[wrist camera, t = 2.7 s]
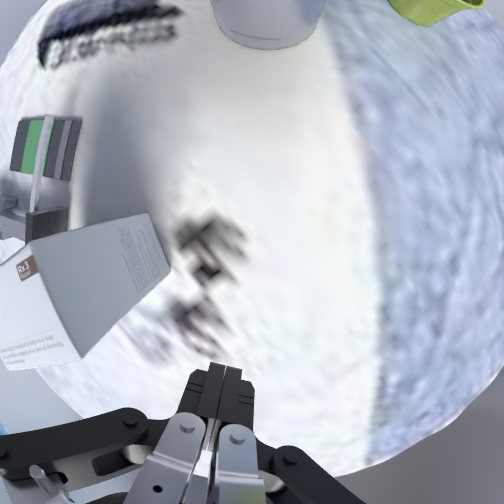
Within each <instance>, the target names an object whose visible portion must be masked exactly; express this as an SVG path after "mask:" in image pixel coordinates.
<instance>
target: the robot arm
mask: <svg viewBox="0 0 504 504" xmlns="http://www.w3.org/2000/svg"><path fill="white" fill-rule="evenodd" d="M325 1H326V0H211V4H212V7H213V10H214V13H215V16H216V19H217V23H218V25H219V27H220V29H221V30H222V31H223V33H224V34H225V35H226V36H227V37H229V38H230V39H232V40H233V41H235V42H237V43H239V44H242V45H244V46H247V47H251V48H256V49H265V50H270V49H282V48H287V47H291V46H293V45H296V44H299V43H300V42H302V41H304V40H306V39H307V38H308V37H309V36H310V35H311V34H312V33H313V31H314V29H315V28H316V26H317V23H318V20H319V17H320V14H321V11H322V8H323V6H324V3H325ZM225 367H226V366H225V365H221V364H217V363H214V362H211V363H210V366H209V370H208V372H207V371H203V370H200V369H196V370H195V371H194V372H193V373H191V374H190V377H189V380H188V383H187V385H186V388H185V390H184V393H183V396H182V399H181V401H180V404H179V407H178V410H177V412H176V413H175V415H173V416H172V417H171V418H168V419H165V420H153V419H147V417H146V416H145V414H144V413H142V412H141V411H139V410H137V409H134V408H121V409H118V410H114V411H111V412H108V413H104V414H101V415H97V416H94V417H90V418H86V419H83V420H79V421H75V422H71V423H67V424H62V425H58V426H53V427H49V428H44V429H39V430H33V431H28V432H22V433H16V434H9V435H1V436H0V476H1V477H2V479H3V482H4V484H5V487H6V489H7V492H8V494H9V497H10V499H11V501H12V503H13V504H67V502H68V500H69V492H70V491H74V490H78V489H81V488H84V487H88V486H91V485H94V484H97V483H100V482H103V481H106V480H109V479H112V478H114V477H117V476H120V475H123V474H125V473H128V472H130V471H133V470H135V469H138V468H140V467H141V470H140V471H139V473H138V475H137V477H136V479H135V481H134V483H133V485H132V487H131V489H130V491H129V492H121V493H115V494H111V495H108V496H105V497H102V498H100V499H97V500H94V501H91V502H89V503H86V504H183V502H184V499H185V496H186V492H187V490H188V487H189V484H190V481H191V478H192V475H193V472H194V469H195V467H196V464H197V462H198V460H199V458H200V455H201V451H202V449H203V450H206V448H207V445H208V441H209V438H210V441H209V446H208V450H207V451H212V458H211V461H210V464H209V473H208V486H207V498H206V504H366V503H364V502H363V501H362V500H360V499H359V498H358V497H356V496H355V495H354V494H353V493H351V492H350V491H349V490H348V489H346V488H345V487H344V486H343V485H341V484H340V483H339V482H338V481H337V480H335V479H334V478H333V477H332V476H331V475H330V474H328V473H327V472H326V471H325V470H324V469H323V468H321V467H320V466H319V465H318V464H317V463H316V462H315V461H314V460H312V459H311V458H310V457H309V456H308V455H307V454H306V453H305V452H304V451H303V450H301V449H300V448H297V447H295V446H289V445H287V446H282V447H279V448H278V449H275V448H273V447H270V446H268V445H266V444H264V443H262V442H260V441H259V440H258V439H257V438H256V436H255V435H254V432H253V416H254V394H255V389H254V387H253V385H252V383H251V382H249V381H245V380H241V375H242V369H238V368H234V367H230V366H227V367H226V371H225ZM224 372H225V374H224ZM223 377H224V378H223ZM210 434H211V436H210Z"/></svg>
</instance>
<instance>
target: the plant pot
mask: <svg viewBox="0 0 504 504" xmlns="http://www.w3.org/2000/svg"><path fill="white" fill-rule="evenodd" d="M389 2H390V4H391V5H392V6H393V8H394V9H395V10H396V11H397V12H398V13H399V14H400V15H402V16H403V17H404V18H407V19H410V20H412V21H413V22H415V23H416V24H417V25H420V26H431V25H433V24H435V23H437V22H439V21H441V20H442V19H444V18H446V17H448V16H450V15H452V14H455V13H457V12H459V11H461V10H468V9H471V8H473V9H480V8H483V7H484V5H485V0H389Z"/></svg>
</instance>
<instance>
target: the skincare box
mask: <svg viewBox="0 0 504 504" xmlns="http://www.w3.org/2000/svg"><path fill="white" fill-rule="evenodd" d="M170 272H171V270H170V268H169V265H168V263H167V260H166V258H165V255H164V253H163V250H162V248H161V245H160V242H159V240H158V237H157V235H156V232H155V229H154V226H153V224H152V221H151V218H150V215H149V213H148V212H147V213H143V214H138V215H134V216H129V217H124V218H120V219H115V220H111V221H106V222H102V223H98V224H94V225H90V226H86V227H82V228H78V229H74V230H70V231H66V232H62V233H58V234H54V235H51V236H48V237H44V238H40V239H37V240H33V241H30V242H29V243H27V244H26V245H25V246H24V247H22V248H21V249H20V250H18V251H17V252H16V253H15V254H13V255H12V256H11V257H10V258H8V259H7V260H6V261H4V262H3V263H2V264H0V356H1V359H2V360H3V362H4V364H5V365H6V367H7V369H8V370H10V371H14V370H22V369H30V368H38V367H45V366H51V365H57V364H63V363H68V362H73V361H78V360H82V359H83V358H84V357H85V356H86V355H87V354H88V352H89V351H90V350H91V349H92V348H93V347H94V346H95V345H96V344H97V343H98V342H99V341H100V340H101V339H102V338H103V337H104V336H105V335H106V334H107V333H108V332H109V331H110V330H111V328H112V327H113V326H114V325H116V324H117V323H118V322H119V321H120V320H121V319H122V318H123V317H124V316H125V315H126V314H128V313H129V312H130V311H131V310H132V309H133V308H134V307H135V306H136V305H137V304H138V303H139V302H140V301H141V300H142V299H143V298H144V297H145V296H146V295H147V294H148V293H149V292H150V291H151V290H152V289H154V288H155V287H156V286H157V285H158V284H159V283H160V282H161V281H162V280H163V279H164V278H165V277H166V276H167V275H168V274H169V273H170Z"/></svg>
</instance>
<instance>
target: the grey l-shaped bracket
mask: <svg viewBox="0 0 504 504" xmlns="http://www.w3.org/2000/svg"><path fill="white" fill-rule="evenodd" d="M53 118H54V116H51V115H45V119H44V123H43V127H42V131H41V135H40V140H39V145H38V150H37V155H36V161H35V167H34V174H33V181H32V189H31V199H30V211H29V213H26V218H25V217H22V216H19V215H16V214H13V213H10V212H8V211H5V210H2V209H0V231H1V232H4V233H6V234H8V235H11V236H13V237H15V238H18V239H20V240H22V241H25V245H26V244H27V243H29V242H30V241H33V240H37V239H40V238H44V237H48V236H51V235H54V234H58V233H62V232H66V229H67V217H68V208H67V207H63V206H59V207H54V208H49V209H43V210H38V203H39V194H40V185H41V178H42V171H43V165H44V159H45V154H46V148H47V144H48V139H49V134H50V130H51V126H52V122H53Z"/></svg>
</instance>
